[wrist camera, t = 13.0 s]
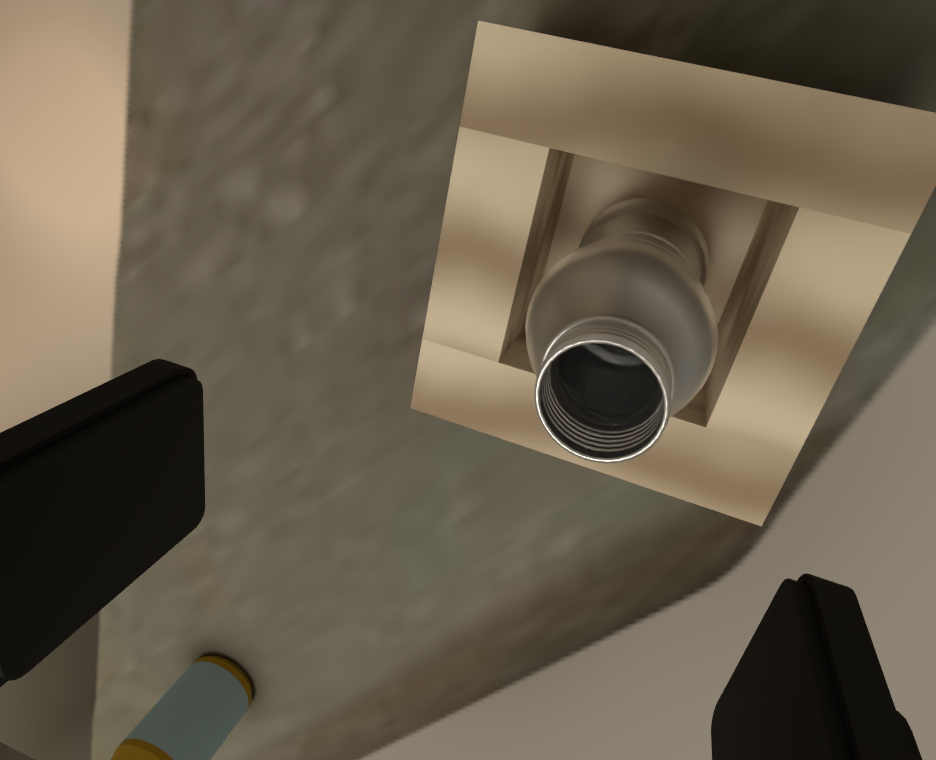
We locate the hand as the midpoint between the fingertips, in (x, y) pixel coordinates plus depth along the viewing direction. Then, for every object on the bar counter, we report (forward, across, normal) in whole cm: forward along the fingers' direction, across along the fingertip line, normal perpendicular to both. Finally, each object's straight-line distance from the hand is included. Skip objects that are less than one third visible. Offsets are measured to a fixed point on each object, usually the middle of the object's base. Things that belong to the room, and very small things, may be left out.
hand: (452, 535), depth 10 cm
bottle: (+28, +25, +52) cm, 64 cm away
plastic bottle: (+28, -2, +1) cm, 28 cm away
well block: (+29, -2, +1) cm, 29 cm away
